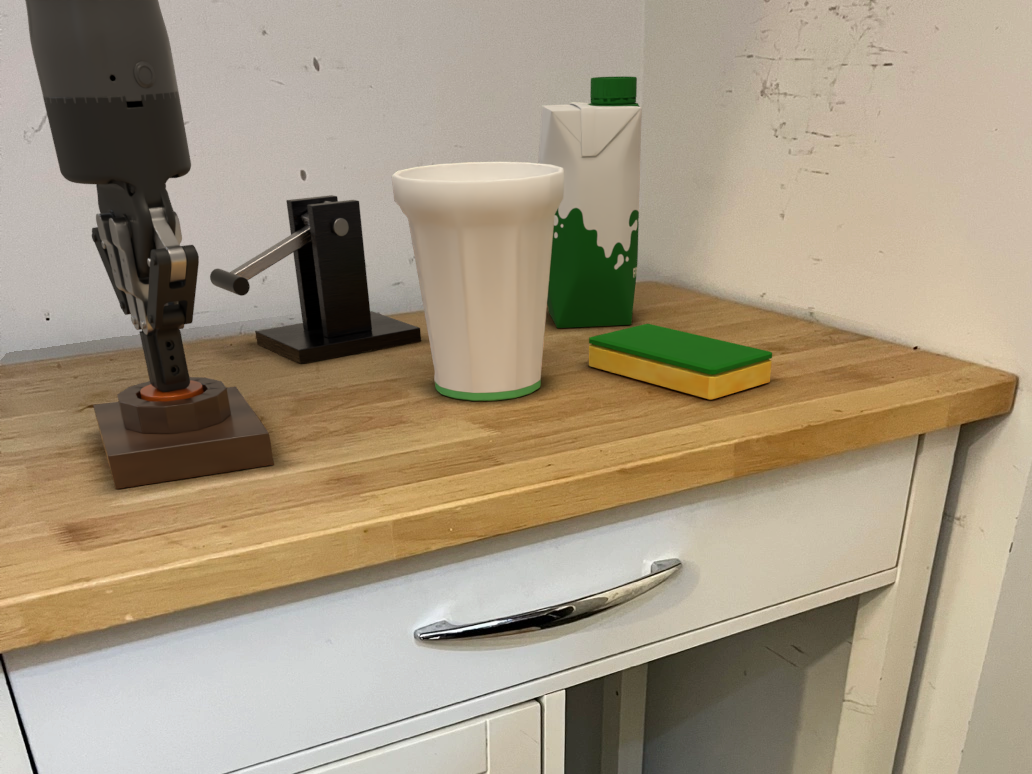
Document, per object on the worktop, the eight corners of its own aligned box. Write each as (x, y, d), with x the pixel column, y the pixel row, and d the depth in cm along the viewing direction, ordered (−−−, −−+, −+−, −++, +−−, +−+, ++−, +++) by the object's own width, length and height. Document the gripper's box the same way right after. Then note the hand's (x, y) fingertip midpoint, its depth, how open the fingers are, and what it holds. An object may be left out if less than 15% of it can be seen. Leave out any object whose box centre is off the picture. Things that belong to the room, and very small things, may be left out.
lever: (241, 304, 90) (227, 277, 88) (218, 294, 93) (203, 268, 92) (357, 232, 93) (345, 204, 92) (330, 225, 97) (318, 198, 95)
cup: (475, 357, 94) (464, 158, 85) (597, 378, 87) (598, 165, 79) (376, 393, 85) (354, 175, 77) (503, 419, 79) (494, 185, 71)
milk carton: (643, 327, 102) (650, 78, 91) (546, 331, 101) (542, 81, 90) (626, 306, 109) (631, 74, 98) (536, 310, 108) (531, 77, 98)
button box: (100, 435, 78) (86, 378, 76) (241, 415, 81) (231, 360, 79) (115, 489, 68) (100, 426, 66) (274, 465, 72) (264, 404, 70)
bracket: (300, 364, 93) (280, 213, 87) (257, 344, 99) (234, 202, 93) (421, 341, 99) (410, 198, 93) (373, 323, 105) (359, 188, 99)
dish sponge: (646, 351, 94) (647, 322, 93) (772, 383, 85) (775, 351, 84) (586, 366, 90) (586, 336, 89) (710, 401, 82) (712, 368, 80)
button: (142, 410, 74) (136, 384, 73) (202, 402, 76) (197, 376, 75) (149, 426, 71) (143, 399, 70) (211, 417, 73) (206, 391, 72)
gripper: (13, 87, 66) (84, 378, 75) (78, 93, 57) (150, 423, 66) (136, 82, 70) (189, 359, 79) (216, 86, 60) (265, 399, 70)
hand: (171, 387), depth 72 cm, fingers closed
